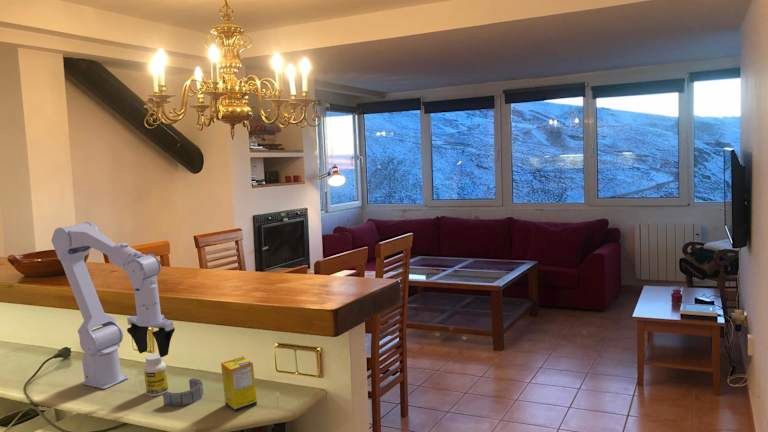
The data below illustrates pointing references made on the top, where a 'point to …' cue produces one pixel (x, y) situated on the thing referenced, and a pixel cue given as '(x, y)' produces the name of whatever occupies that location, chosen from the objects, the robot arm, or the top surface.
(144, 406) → the top surface
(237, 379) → the supplement box
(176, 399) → the steel horseshoe collar
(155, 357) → the supplement bottle
